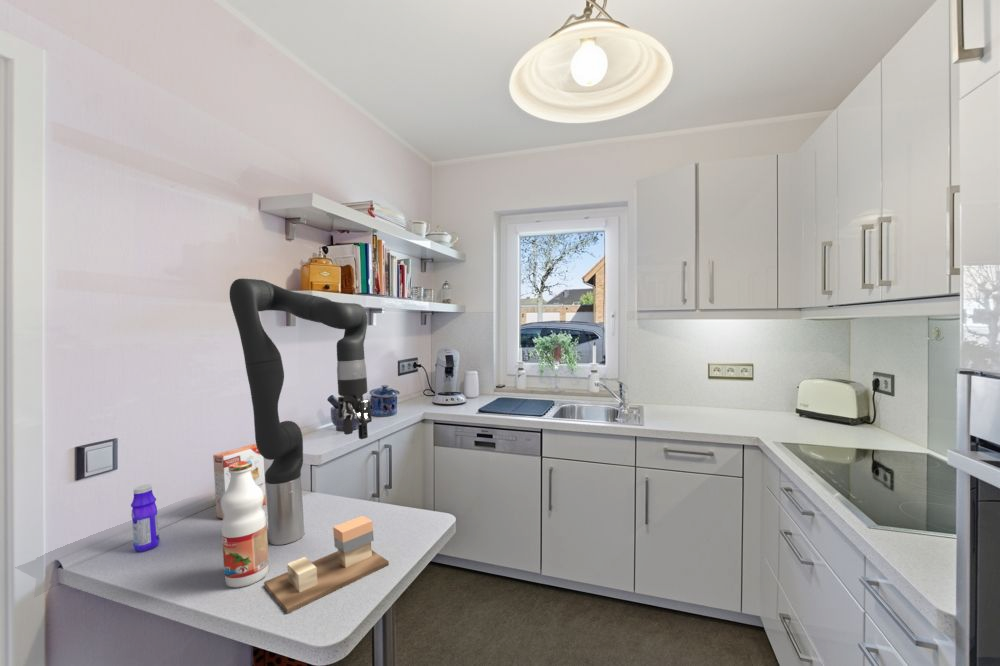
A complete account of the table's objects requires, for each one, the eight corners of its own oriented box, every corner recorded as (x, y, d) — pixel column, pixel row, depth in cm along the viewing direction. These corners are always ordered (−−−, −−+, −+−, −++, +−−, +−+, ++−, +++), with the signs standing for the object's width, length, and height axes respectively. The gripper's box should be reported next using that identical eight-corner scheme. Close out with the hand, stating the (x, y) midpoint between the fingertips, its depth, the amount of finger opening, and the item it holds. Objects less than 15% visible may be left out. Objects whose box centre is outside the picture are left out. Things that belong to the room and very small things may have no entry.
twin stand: (264, 586, 103) (263, 565, 103) (359, 545, 120) (358, 527, 120) (287, 613, 92) (286, 590, 92) (388, 565, 109) (387, 545, 109)
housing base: (364, 534, 115) (363, 525, 115) (373, 540, 112) (373, 530, 112) (334, 546, 110) (334, 536, 110) (343, 553, 106) (343, 543, 106)
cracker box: (227, 521, 141) (222, 456, 140) (215, 518, 143) (211, 454, 143) (267, 503, 153) (263, 444, 153) (256, 501, 156) (252, 443, 155)
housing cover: (363, 525, 115) (362, 515, 115) (372, 530, 112) (372, 520, 112) (333, 536, 110) (333, 526, 110) (342, 542, 106) (342, 532, 106)
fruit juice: (275, 574, 108) (268, 461, 107) (233, 593, 100) (225, 472, 100) (260, 562, 114) (253, 455, 113) (219, 579, 107) (211, 465, 106)
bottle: (132, 547, 126) (127, 487, 126) (156, 539, 130) (152, 481, 130) (136, 555, 121) (131, 493, 121) (161, 546, 125) (157, 486, 125)
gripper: (377, 376, 116) (381, 437, 117) (352, 373, 126) (356, 429, 127) (351, 380, 111) (355, 443, 111) (327, 377, 121) (330, 435, 121)
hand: (355, 436), depth 119 cm, fingers open, 8 cm apart
